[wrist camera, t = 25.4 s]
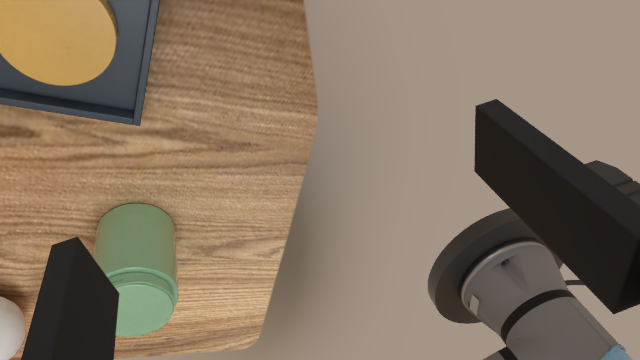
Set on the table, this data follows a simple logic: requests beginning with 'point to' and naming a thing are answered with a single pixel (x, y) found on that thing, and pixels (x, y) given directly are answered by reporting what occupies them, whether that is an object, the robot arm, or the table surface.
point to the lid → (58, 38)
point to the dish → (106, 89)
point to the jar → (139, 265)
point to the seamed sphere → (10, 328)
